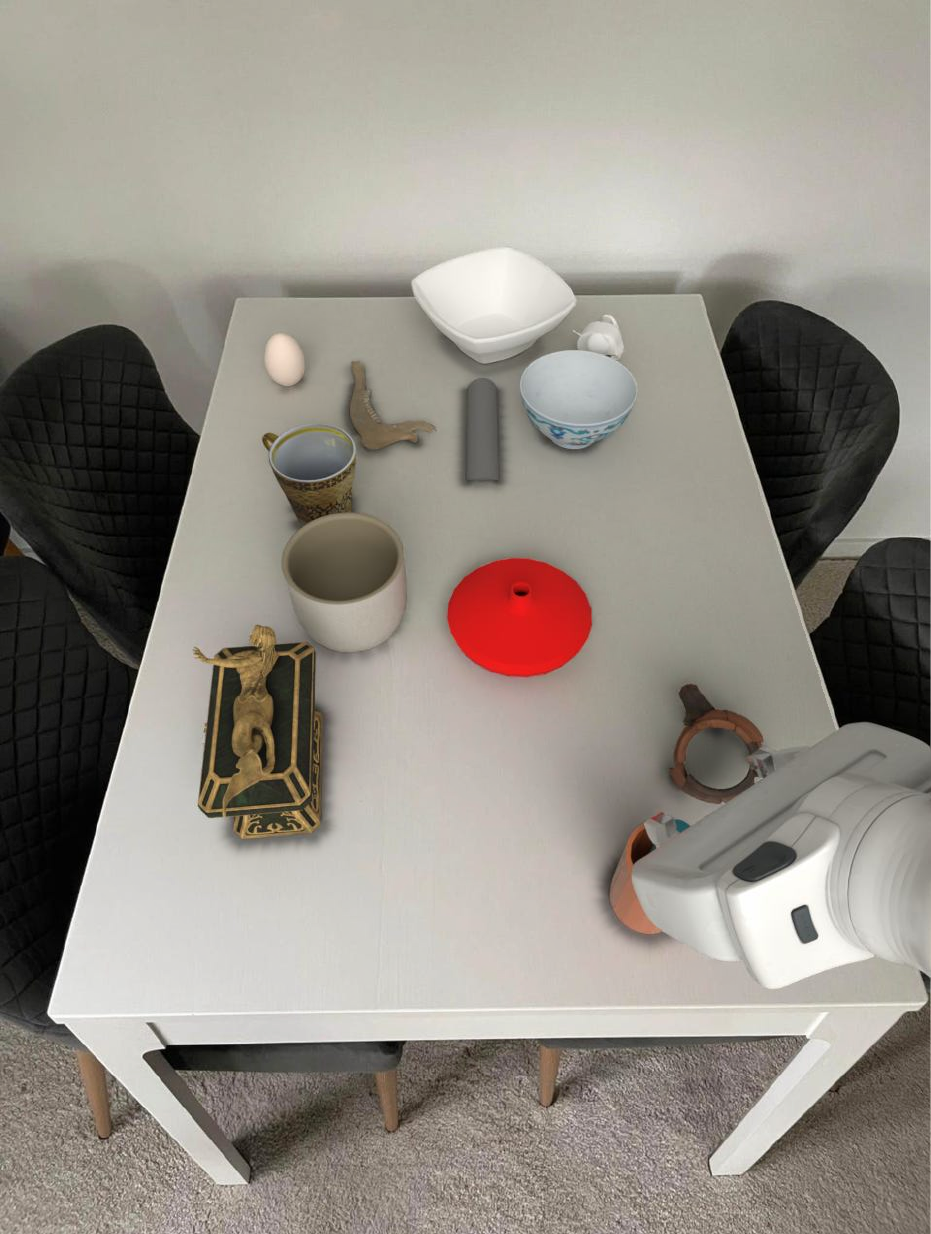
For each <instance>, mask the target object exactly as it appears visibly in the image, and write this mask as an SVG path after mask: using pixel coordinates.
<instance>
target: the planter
mask: <svg viewBox="0 0 931 1234" xmlns="http://www.w3.org/2000/svg"><path fill="white" fill-rule="evenodd" d="M281 569H282V574H283V579H284V582H285V584H286V585H285V586H286V588H287V592H288V594H289V598H290V601H291V604H292V607H293V610H294V613H295V615H296V618H297V620H298V622H299V623H300V625H301V627H302V629H303V630H304V632H305V633H306V634H307V635H308V636H309V637H310V638H311V639H312V640H314V642H316V643H318V644H319V645H321V646H322V647H324V648H326V649H328V650H331V651H335V652H339V653H360V652H365V651H368V650H370V649H374V648H375V647H378V646H379V645H381V644H382V643H384V642H385V641H387V640H388V639H389V638H390V637H391V636H393V634H395V632H396V630H397V629H398V628H399V626H400V625H401V622H402V620H403V618H404V615H405V612H406V607H407V601H408V599H407V598H408V587H407V586H408V585H407V573H406V572H407V571H406V557H405V550H404V545H403V542H402V539H401V537H400V536H399V535H398V533H397V532H396V531H395V529H394V528H392V527H391V526H390V524H388V523H387V522H385V521H383V520H382V519H380V518H377V517H376V516H373V515H371V514H370V515H369V514H365V513H360V512H352V511H351V512H345V513H335V514H330V515H326V516H323V517H320V518H317V519H315V520H313V521H311V522H309V523H308V524H306V525H303V526H302V527H300V528H299V529H298V530H297V531H296V532H295V533H294V534H293V535H292V536H291V537H290V538H289V540H288V541H287V543H286V544H285V547H284V549H283V552H282V556H281Z"/></svg>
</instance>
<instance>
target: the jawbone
mask: <svg viewBox="0 0 931 1234" xmlns="http://www.w3.org/2000/svg"><path fill="white" fill-rule="evenodd" d="M351 372H352V375H353V377H354V386H353V387H354V388H353V392H352V395H351V399H350V403H349V417H350V420H351V423H352V426H353V427H354V429H355V430H356V432H357V433H358V435H359V436H360V444H361V445H362V447H364V448H365V449H367V450H381V449H383V448H385V447H387V446H389V445H392V444H395V443H397V442H401V441H409V442H411V443H413V444H417V443H418V440H419V437H418V433H417V430H423V431H425V432H427V433H429V434H430V433H431V432H432V431H435V432H437V429H436V426H435V425H434V424H432V423H430V422H428V421H426V420H420V419H419V420H415V419H414V420H407V421H404V422H399V423H395V424H387V423H381V418H380V417H379V415H378V414H377V412H375V409H374V406H373V405H372V403H371V401H372V399H371V398H372V390H371V389H366V384H365V371H364V367H363V364H362V362H361V361H360V360H358V361H355V360H354V361H351Z"/></svg>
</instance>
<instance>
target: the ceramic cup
mask: <svg viewBox="0 0 931 1234" xmlns="http://www.w3.org/2000/svg"><path fill="white" fill-rule="evenodd" d="M261 440H262V444H263V446H264V448H265V449H266V450H267V451H268V464H269V466H270V469H271V470H272V472H273V475H274V477H275V479H276V481H277V483H278V486H279V487H280V488H281V490H282V491H283V493H284V495H285V497H286V499H287V501H288V503H289V505H290V507H291V509H292V511H293V513H294V516H295V517H296V519H297V521H298V522H299V523H300V524H301V525H303V526H304V525H306V524H308V523H309V522H311V521H313V520H315V519H317V518H320V517H323V516H326V515H330V514H335V513H345V512H352V508H353V507H352V506H353V505H352V504H353V503H352V502H353V492H354V480H355V475H356V462H357V447H356V442H355V441H354V439H353V438H352V436H351V434H349V433H348V432H347V431H346V430H344V429H342V428H340V427H338V426H335V425H333V424H327V423H320V422H319V423H318V422H317V423H305V424H302V425H297V426H295V427H292V428H290V429H288V430H285V431H284V432H283V433H281V434H280V435H278V434H276V433H273V432H266V433H265V434H263V436H262V437H261ZM270 443H271V444H270Z"/></svg>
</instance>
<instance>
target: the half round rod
mask: <svg viewBox="0 0 931 1234" xmlns="http://www.w3.org/2000/svg"><path fill="white" fill-rule="evenodd" d="M498 399H499V398H498V388H497V384H496V383H495V382H494V381H492V380H491V379H489V378H485V377H481V378H476V379H474V380H472V381H471V382H470V383H469V385H468V388H467V392H466V450H465V451H466V453H465V454H466V456H465V457H466V461H465V462H466V463H465V479H466V481H474V482H475V481H477V482H478V481H479V482H480V481H482V482H483V481H484V482H485V481H489V482H490V481H492V482H495V481H496V482H497V481H499V480H500V454H499V453H500V452H499V451H500V450H499V447H500V446H499V405H498V404H499V403H498V402H499V400H498Z"/></svg>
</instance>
